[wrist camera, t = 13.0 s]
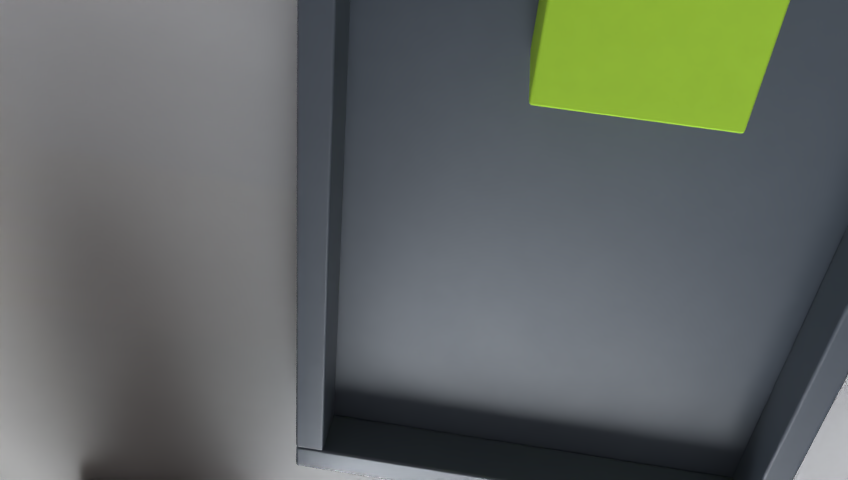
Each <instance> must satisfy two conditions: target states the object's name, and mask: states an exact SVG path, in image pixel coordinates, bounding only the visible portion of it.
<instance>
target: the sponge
mask: <svg viewBox="0 0 848 480" xmlns="http://www.w3.org/2000/svg"><path fill="white" fill-rule="evenodd" d="M789 2H790V0H539V3H538V9H537V15H536V21H535V27H534V33H533V38H532V44H531V51H530V83H529V103H530V105H534V106H541V107H549V108H556V109H563V110H571V111H578V112H586V113H593V114H600V115H608V116H615V117H623V118H630V119H638V120H645V121H652V122H660V123H667V124H675V125H682V126H689V127H697V128H704V129H712V130H719V131H727V132H734V133H744V131H745V129H746V127H747V124H748V121H749V118H750V115H751V112H752V109H753V106H754V103H755V101H756V98H757V95H758V92H759V89H760V86H761V83H762V80H763V77H764V75H765V72H766V69H767V66H768V63H769V60H770V57H771V54H772V51H773V49H774V46H775V43H776V40H777V37H778V34H779V31H780V28H781V25H782V23H783V20H784V17H785V14H786V11H787V8H788V5H789Z"/></svg>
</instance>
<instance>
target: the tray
mask: <svg viewBox="0 0 848 480" xmlns="http://www.w3.org/2000/svg"><path fill="white" fill-rule="evenodd" d="M538 3H539V0H298V8H297V388H296V445H297V447H296V462H297V465H301V466H307V467H313V468H319V469H326V470H332V471H338V472H344V473H350V474H357V475H363V476H369V477H375V478H381V479H387V480H793V479H794V477H795V475H796V473H797V471H798V469H799V467H800V465H801V463H802V461H803V459H804V458H805V456H806V454H807V452H808V450H809V448H810V446H811V444H812V442H813V440H814V438H815V436H816V435H817V433H818V431H819V429H820V427H821V425H822V423H823V421H824V419H825V417H826V415H827V414H828V412H829V410H830V408H831V406H832V404H833V402H834V400H835V398H836V396H837V394H838V392H839V391H840V389H841V387H842V385H843V383H844V381H845V379H846V377H847V375H848V0H790V2H789V5H788V8H787V11H786V14H785V17H784V20H783V23H782V25H781V28H780V31H779V34H778V37H777V40H776V43H775V46H774V49H773V51H772V54H771V57H770V60H769V63H768V66H767V69H766V72H765V75H764V77H763V80H762V83H761V86H760V89H759V92H758V95H757V98H756V101H755V103H754V106H753V109H752V112H751V115H750V118H749V121H748V124H747V127H746V129H745V131H744V133H734V132H727V131H719V130H712V129H704V128H697V127H689V126H682V125H675V124H667V123H660V122H652V121H645V120H638V119H630V118H623V117H615V116H608V115H600V114H593V113H586V112H578V111H571V110H563V109H556V108H549V107H541V106H534V105H530V103H529V83H530V51H531V44H532V38H533V33H534V27H535V21H536V15H537V9H538Z"/></svg>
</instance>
